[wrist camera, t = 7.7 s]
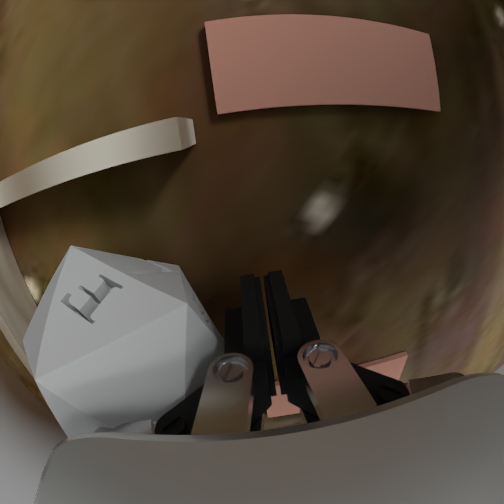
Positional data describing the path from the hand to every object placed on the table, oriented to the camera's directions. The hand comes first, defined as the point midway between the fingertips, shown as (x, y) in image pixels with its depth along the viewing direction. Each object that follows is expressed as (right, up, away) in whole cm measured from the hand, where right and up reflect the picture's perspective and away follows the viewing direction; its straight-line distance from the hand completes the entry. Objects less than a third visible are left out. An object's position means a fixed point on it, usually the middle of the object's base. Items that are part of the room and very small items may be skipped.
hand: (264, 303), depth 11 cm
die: (-6, 0, +2) cm, 6 cm away
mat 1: (+3, +10, -3) cm, 11 cm away
